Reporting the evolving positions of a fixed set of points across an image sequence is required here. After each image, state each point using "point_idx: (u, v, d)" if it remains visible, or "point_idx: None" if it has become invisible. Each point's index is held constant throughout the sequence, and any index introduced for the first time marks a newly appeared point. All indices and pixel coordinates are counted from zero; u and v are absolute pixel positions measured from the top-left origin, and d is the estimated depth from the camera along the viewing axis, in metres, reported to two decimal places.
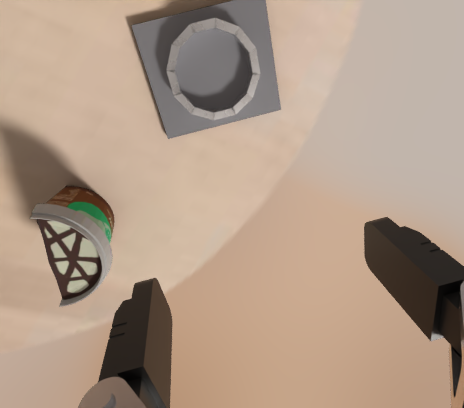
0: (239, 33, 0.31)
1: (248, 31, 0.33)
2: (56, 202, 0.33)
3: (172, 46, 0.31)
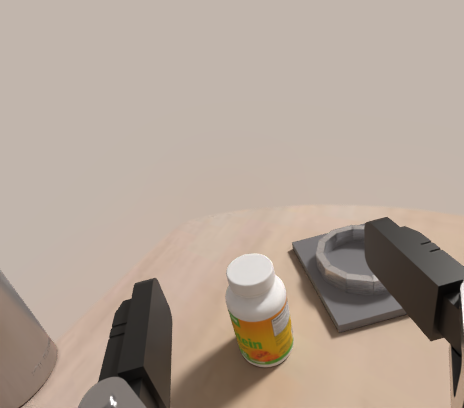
0: (324, 240, 0.38)
1: None
2: None
3: (348, 278, 0.32)
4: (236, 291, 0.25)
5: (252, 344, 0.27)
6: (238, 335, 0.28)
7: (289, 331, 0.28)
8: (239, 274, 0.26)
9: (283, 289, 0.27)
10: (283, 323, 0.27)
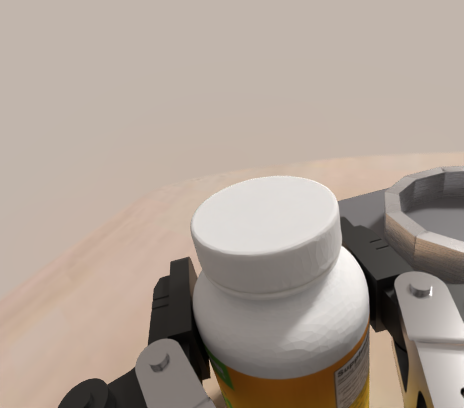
0: (395, 190, 0.20)
1: (381, 207, 0.22)
2: None
3: None
4: (220, 279, 0.08)
5: None
6: (229, 404, 0.10)
7: (368, 390, 0.10)
8: (231, 223, 0.08)
9: (362, 274, 0.09)
10: (363, 374, 0.09)
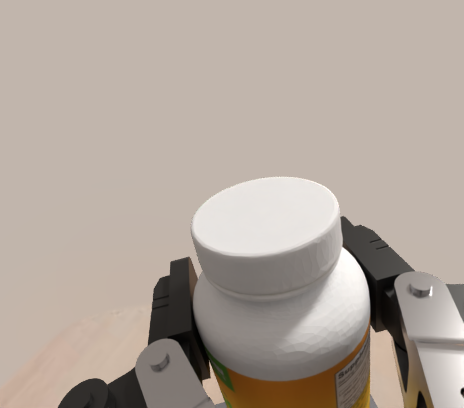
0: None
1: None
2: None
3: None
4: (220, 281, 0.08)
5: None
6: (229, 405, 0.10)
7: (369, 392, 0.10)
8: (231, 225, 0.08)
9: (362, 275, 0.09)
10: (363, 376, 0.09)
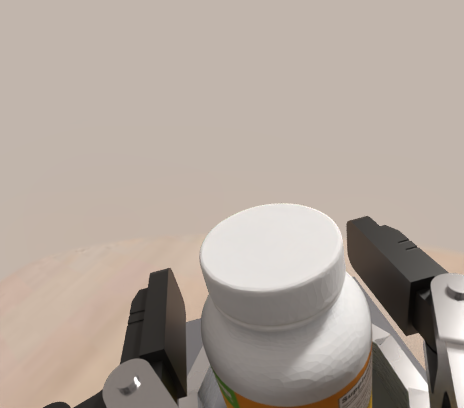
0: None
1: None
2: None
3: None
4: (228, 310, 0.08)
5: None
6: None
7: None
8: (238, 255, 0.08)
9: (365, 301, 0.09)
10: (366, 398, 0.09)
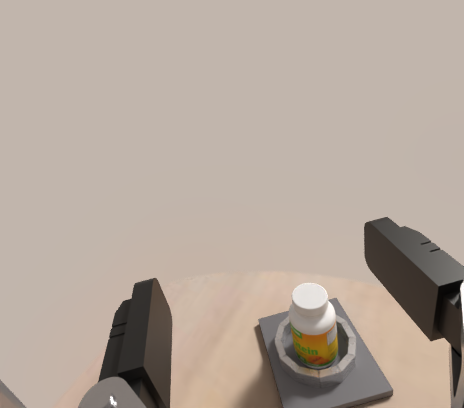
0: (283, 324, 0.42)
1: None
2: None
3: (298, 372, 0.36)
4: (301, 313, 0.34)
5: (310, 351, 0.36)
6: (298, 344, 0.37)
7: (336, 341, 0.37)
8: (303, 299, 0.35)
9: (333, 310, 0.36)
10: (334, 335, 0.36)
